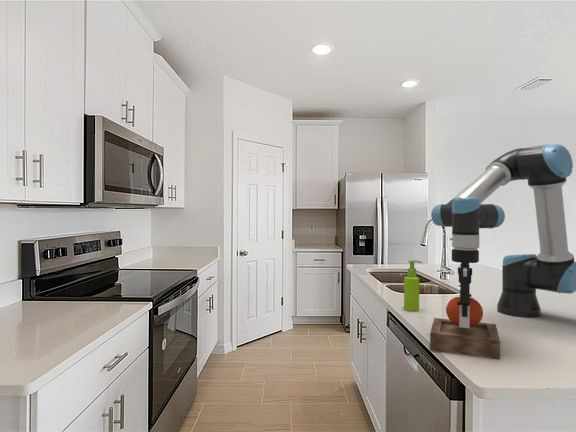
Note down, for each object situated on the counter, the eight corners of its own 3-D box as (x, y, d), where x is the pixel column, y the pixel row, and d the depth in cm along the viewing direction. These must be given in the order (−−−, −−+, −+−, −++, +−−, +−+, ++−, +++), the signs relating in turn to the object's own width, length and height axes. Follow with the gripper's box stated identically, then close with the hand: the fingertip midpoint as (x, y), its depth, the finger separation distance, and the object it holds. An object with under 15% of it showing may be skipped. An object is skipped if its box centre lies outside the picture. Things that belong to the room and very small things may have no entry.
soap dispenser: (422, 312, 163) (423, 261, 162) (404, 311, 164) (405, 261, 164) (420, 308, 168) (421, 259, 168) (403, 307, 170) (404, 259, 170)
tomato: (464, 333, 116) (465, 298, 116) (438, 324, 126) (438, 291, 125) (490, 329, 120) (491, 295, 120) (463, 321, 130) (463, 289, 130)
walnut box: (495, 340, 128) (495, 324, 128) (500, 359, 111) (500, 341, 111) (434, 333, 135) (434, 317, 135) (430, 350, 118) (430, 332, 118)
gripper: (452, 245, 134) (451, 312, 135) (450, 251, 114) (449, 331, 114) (477, 246, 132) (476, 315, 132) (480, 253, 111) (479, 334, 111)
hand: (464, 322), depth 123 cm, fingers closed on tomato, 10 cm apart
